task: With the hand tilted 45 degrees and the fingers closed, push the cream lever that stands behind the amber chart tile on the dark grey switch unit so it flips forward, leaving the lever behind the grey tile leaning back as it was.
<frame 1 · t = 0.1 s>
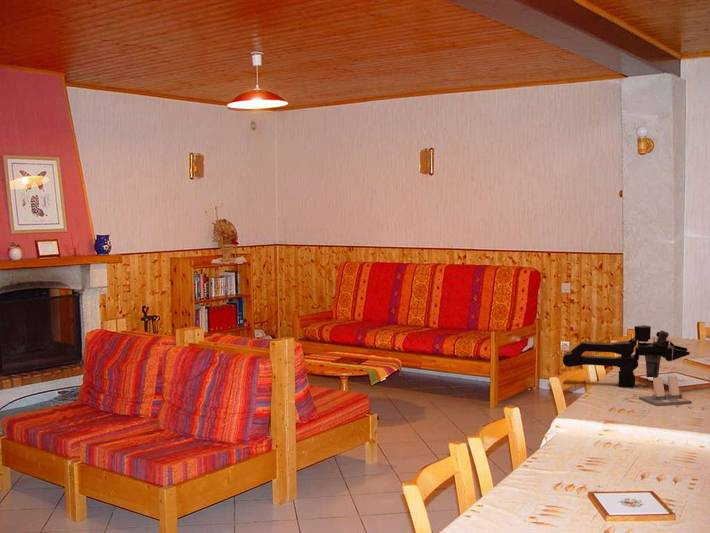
hand: (688, 351, 357), 17 cm above the table, tool horizontal, fingers open, 9 cm apart
unmarked lever: (658, 387, 336), point 6 cm above the table, hinge at -15.0°
switch unit: (667, 401, 336), on the table
marked lever: (673, 386, 337), point 6 cm above the table, hinge at -15.0°
beverage cup: (652, 381, 375), on the table
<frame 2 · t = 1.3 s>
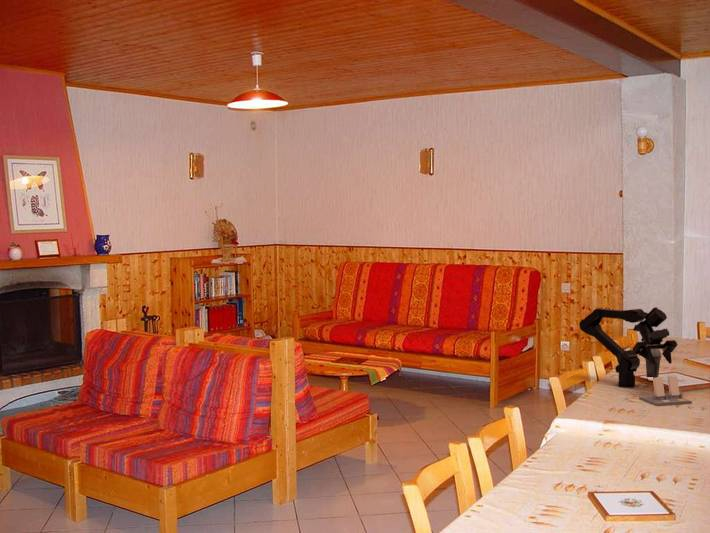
hand: (663, 363, 344), 14 cm above the table, tool tilted 45°, fingers open, 7 cm apart
nothing on the table moved.
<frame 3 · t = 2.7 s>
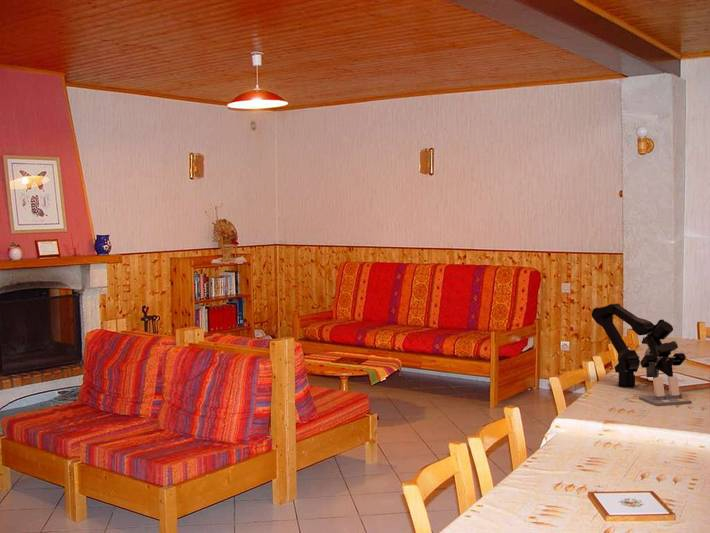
hand: (671, 376, 339), 9 cm above the table, tool tilted 45°, fingers closed, pressing on marked lever
marked lever: (673, 386, 337), point 6 cm above the table, hinge at -13.6°, touching gripper
everything else where it was.
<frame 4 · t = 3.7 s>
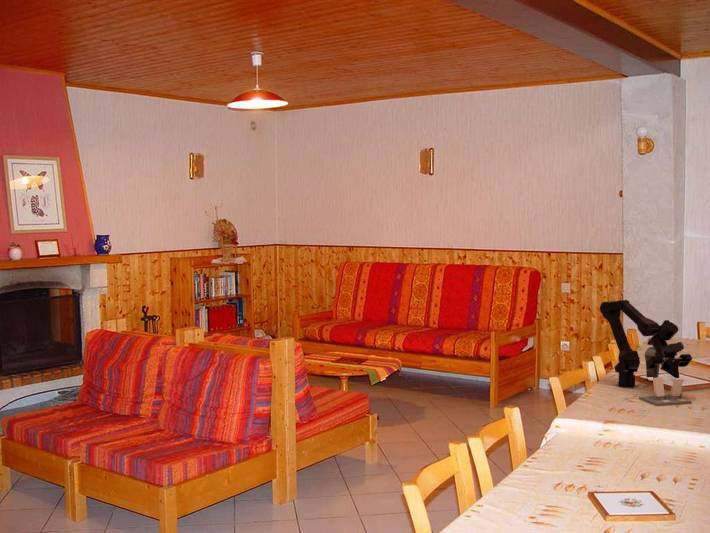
hand: (678, 378, 335), 10 cm above the table, tool tilted 45°, fingers closed, pressing on marked lever
marked lever: (676, 387, 335), point 6 cm above the table, hinge at 16.2°, touching gripper
everything else where it was.
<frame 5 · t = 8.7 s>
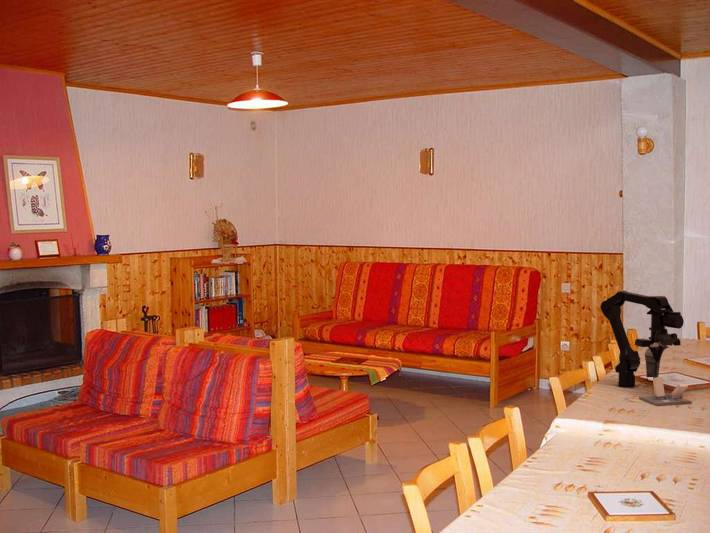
hand: (657, 362, 351), 13 cm above the table, tool pointing down, fingers closed
marked lever: (678, 390, 334), point 5 cm above the table, hinge at 43.8°
everything else where it was.
at the end: marked lever at +44° (first picture: -15°); unmarked lever at -15° (first picture: -15°) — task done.
